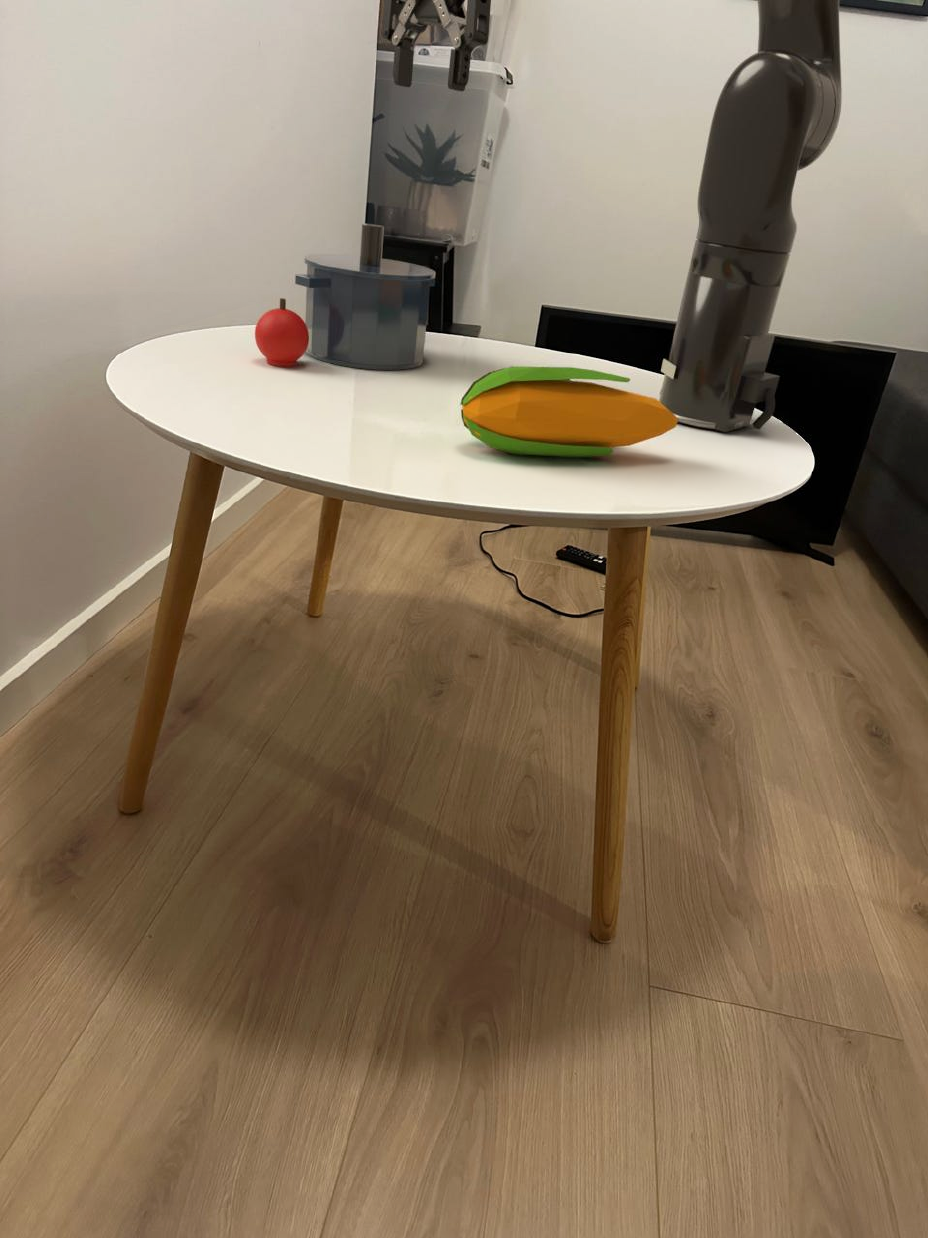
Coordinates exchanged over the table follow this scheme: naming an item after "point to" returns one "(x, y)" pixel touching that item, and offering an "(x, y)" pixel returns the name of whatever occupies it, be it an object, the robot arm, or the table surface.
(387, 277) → the pot lid
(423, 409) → the table surface
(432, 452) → the table surface
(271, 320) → the apple
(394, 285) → the pot
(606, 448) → the corn
